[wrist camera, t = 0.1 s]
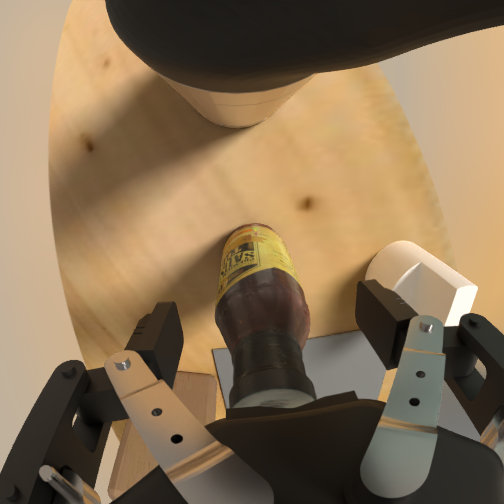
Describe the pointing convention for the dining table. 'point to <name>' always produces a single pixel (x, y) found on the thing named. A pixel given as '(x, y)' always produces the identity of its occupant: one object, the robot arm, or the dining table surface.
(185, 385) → the block
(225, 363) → the mat
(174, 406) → the robot arm
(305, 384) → the sauce bottle
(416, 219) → the dining table surface
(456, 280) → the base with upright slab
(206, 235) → the dining table surface
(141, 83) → the dining table surface
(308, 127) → the dining table surface
